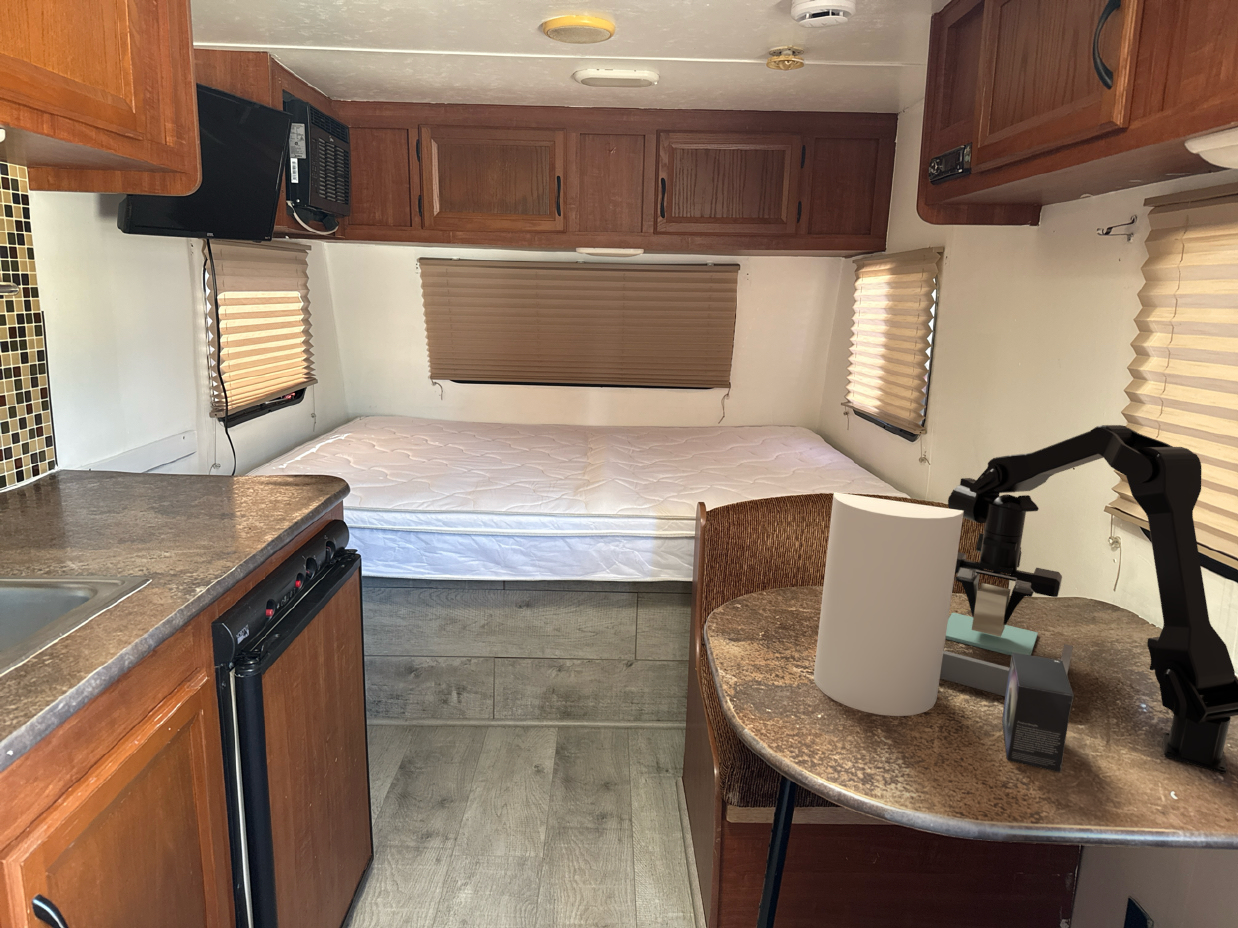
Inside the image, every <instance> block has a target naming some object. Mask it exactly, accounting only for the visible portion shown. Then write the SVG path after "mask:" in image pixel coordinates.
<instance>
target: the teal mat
mask: <svg viewBox="0 0 1238 928" xmlns="http://www.w3.org/2000/svg"><path fill="white" fill-rule="evenodd" d="M972 624H973V617H972V616H970V615H966V614H961V613H957V612H954V611H953V612H952V613H950V614H949V617H948V624H947V631H946V638H945V640H949V641H952V642H956V643H960V644H964V645H969V646H973V647H976V648H980V649H984V650H988V651H992V652H996V653H1001V654H1003V655H1004V654H1005V655H1007V656H1011V657H1012V653H1019V654H1025V655H1031V656H1032V654H1033V650H1034V646H1035V644H1036V641H1037V638H1038V634H1039V633H1038V631H1037V632H1036V631H1032V630H1029V629H1024V628H1021V627H1016V626H1012V625H1008V624H1006V625H1005V628H1004V631H1003V633H1002V635H1001V637H999V636H995V635H991V634H987V633H982V632H978V631H974V630H972Z"/></svg>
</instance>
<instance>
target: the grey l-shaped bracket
mask: <svg viewBox="0 0 1238 928" xmlns="http://www.w3.org/2000/svg"><path fill="white" fill-rule="evenodd" d="M1073 649H1074V645H1070V644H1066V643H1064V644H1063V647H1062V651H1061V656H1060V660H1062V662H1063V665H1064V668H1065V671H1066V674H1067V676H1068V674H1069V671H1070V670H1069V669H1070V664H1071V659H1072V653H1073ZM1009 669H1010V666H1009V667H1008V666H1004V665H1000V664H997V663H992V662H989V661H987V660H986V661H985V660H981V659H978V658H974V657H971V656H966V655H962V654H957V653H954V652H950V651H947V650H944V651H943V658H942V665H941V672H940V680H941V679H942V680H945V681H948V682H952V683H955V684H959V685H963V686H966V687H970V688H974V689H977V690H981V691H984V692H986V693H987V692H988V693H991V694H995V695H999V696H1003V697H1005V696H1006V689H1007V682H1008V675H1009Z"/></svg>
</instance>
